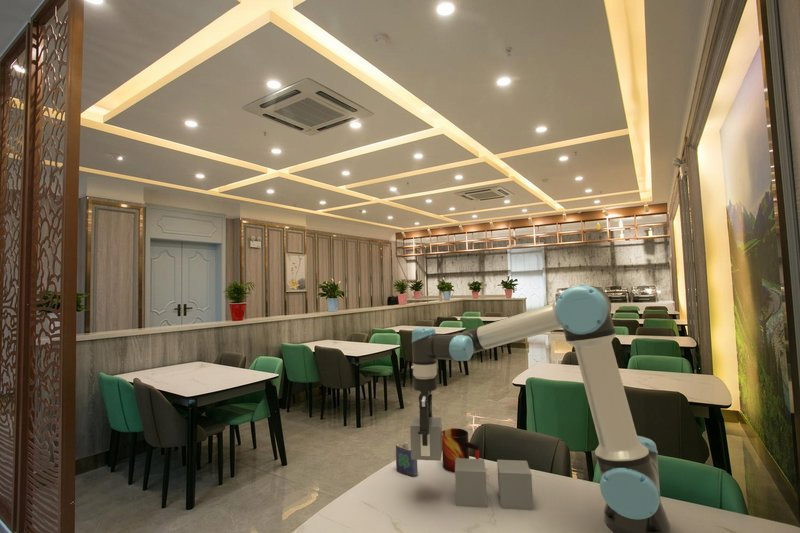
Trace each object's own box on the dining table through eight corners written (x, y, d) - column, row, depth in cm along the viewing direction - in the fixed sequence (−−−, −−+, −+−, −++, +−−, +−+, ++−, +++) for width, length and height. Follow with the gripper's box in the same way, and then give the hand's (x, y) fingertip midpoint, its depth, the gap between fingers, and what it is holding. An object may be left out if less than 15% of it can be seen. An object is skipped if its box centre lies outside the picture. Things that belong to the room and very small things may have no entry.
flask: (419, 475, 136) (418, 443, 137) (414, 478, 134) (412, 446, 135) (399, 468, 142) (398, 437, 143) (393, 471, 140) (392, 440, 140)
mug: (479, 475, 134) (478, 439, 135) (440, 471, 138) (439, 436, 139) (482, 463, 144) (481, 430, 144) (445, 459, 148) (444, 427, 148)
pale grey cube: (528, 493, 121) (526, 460, 122) (533, 509, 112) (531, 474, 113) (498, 492, 123) (497, 459, 123) (501, 508, 114) (499, 472, 114)
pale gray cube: (485, 491, 123) (484, 459, 124) (487, 507, 114) (485, 472, 115) (456, 490, 125) (455, 458, 125) (456, 505, 116) (454, 470, 116)
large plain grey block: (442, 448, 126) (441, 417, 127) (440, 460, 117) (439, 426, 118) (414, 447, 128) (413, 416, 128) (411, 459, 119) (410, 425, 119)
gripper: (417, 369, 135) (419, 436, 134) (408, 384, 114) (410, 463, 112) (438, 369, 134) (441, 436, 133) (434, 384, 113) (436, 464, 111)
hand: (427, 449), depth 123 cm, fingers closed on large plain grey block, 9 cm apart
